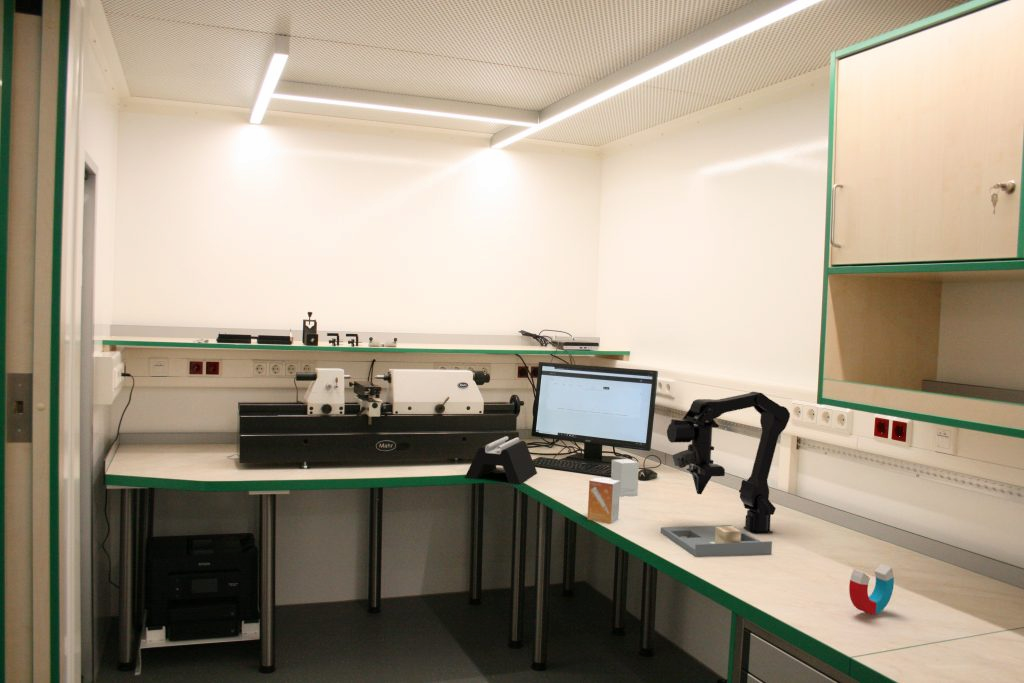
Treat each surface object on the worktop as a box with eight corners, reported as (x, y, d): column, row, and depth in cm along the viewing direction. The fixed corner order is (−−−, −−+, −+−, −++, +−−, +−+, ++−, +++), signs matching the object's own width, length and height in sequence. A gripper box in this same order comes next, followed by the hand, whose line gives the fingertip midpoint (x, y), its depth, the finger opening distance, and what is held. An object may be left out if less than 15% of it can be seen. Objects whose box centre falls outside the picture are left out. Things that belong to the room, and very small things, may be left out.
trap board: (660, 533, 225) (661, 522, 225) (730, 531, 231) (730, 520, 231) (695, 557, 204) (696, 544, 204) (771, 554, 210) (772, 541, 210)
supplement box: (638, 497, 271) (639, 462, 270) (619, 498, 268) (621, 463, 268) (627, 492, 278) (629, 458, 277) (609, 493, 275) (611, 459, 274)
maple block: (731, 542, 213) (731, 526, 213) (740, 547, 208) (741, 531, 208) (714, 542, 212) (715, 526, 212) (723, 548, 207) (724, 531, 207)
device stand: (463, 482, 286) (465, 442, 285) (484, 471, 307) (485, 434, 307) (520, 488, 279) (522, 448, 278) (537, 476, 300) (539, 439, 300)
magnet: (881, 606, 174) (884, 563, 173) (892, 610, 171) (895, 566, 171) (847, 614, 168) (849, 569, 168) (858, 618, 166) (860, 573, 165)
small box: (587, 521, 236) (588, 480, 236) (595, 517, 242) (596, 476, 241) (611, 525, 232) (613, 483, 232) (618, 521, 238) (620, 480, 237)
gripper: (663, 437, 233) (660, 487, 234) (691, 447, 215) (689, 502, 216) (696, 436, 236) (693, 486, 237) (727, 447, 218) (724, 501, 219)
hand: (699, 493), depth 227 cm, fingers closed
